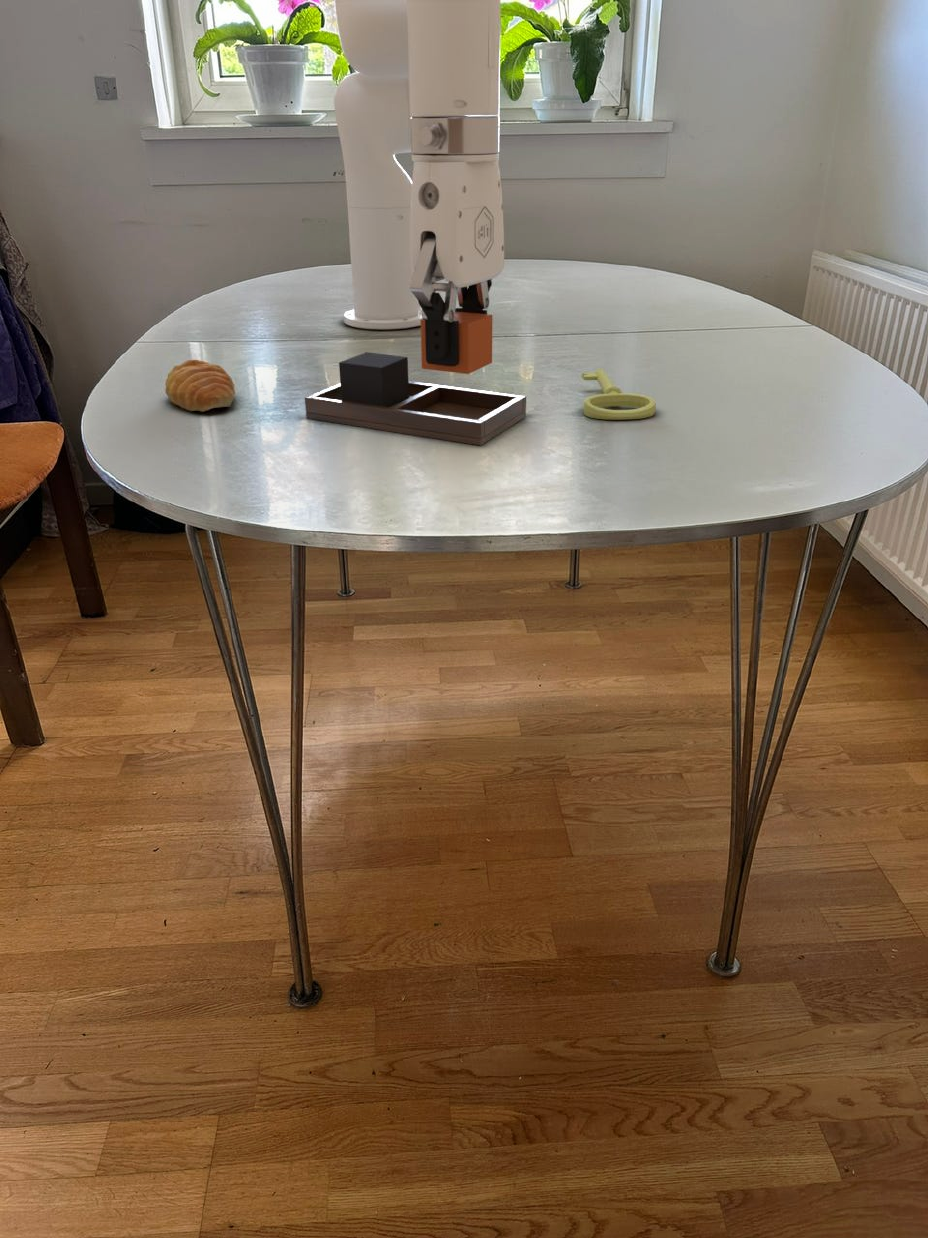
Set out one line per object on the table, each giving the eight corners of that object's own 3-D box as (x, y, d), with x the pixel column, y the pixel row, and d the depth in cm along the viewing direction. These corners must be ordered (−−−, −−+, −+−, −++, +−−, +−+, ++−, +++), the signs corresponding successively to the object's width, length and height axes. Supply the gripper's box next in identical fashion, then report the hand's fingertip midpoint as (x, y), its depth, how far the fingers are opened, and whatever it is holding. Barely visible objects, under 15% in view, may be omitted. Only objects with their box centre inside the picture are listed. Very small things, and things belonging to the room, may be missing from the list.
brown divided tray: (361, 393, 100) (360, 374, 99) (525, 416, 92) (526, 396, 91) (306, 418, 92) (304, 397, 91) (480, 445, 84) (480, 423, 83)
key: (601, 386, 102) (602, 367, 100) (663, 416, 92) (665, 395, 91) (543, 393, 99) (544, 374, 98) (601, 425, 89) (602, 404, 88)
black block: (368, 395, 96) (366, 351, 94) (409, 401, 94) (407, 356, 92) (341, 407, 92) (338, 362, 90) (383, 413, 90) (381, 367, 88)
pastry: (251, 409, 95) (246, 372, 93) (186, 420, 92) (180, 381, 90) (222, 389, 102) (217, 354, 100) (161, 398, 99) (155, 362, 97)
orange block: (446, 357, 90) (446, 310, 88) (492, 362, 88) (492, 314, 86) (421, 368, 86) (420, 319, 84) (468, 374, 84) (468, 323, 82)
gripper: (446, 144, 70) (449, 382, 78) (535, 139, 83) (529, 344, 92) (363, 143, 73) (375, 373, 82) (462, 139, 86) (463, 337, 95)
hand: (457, 355), depth 87 cm, fingers closed on orange block, 5 cm apart
